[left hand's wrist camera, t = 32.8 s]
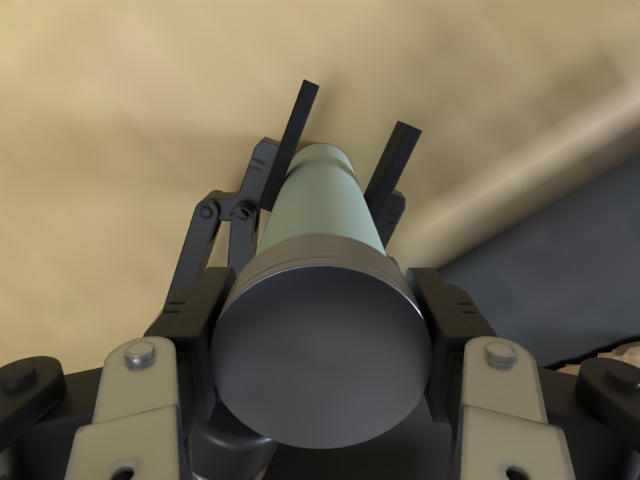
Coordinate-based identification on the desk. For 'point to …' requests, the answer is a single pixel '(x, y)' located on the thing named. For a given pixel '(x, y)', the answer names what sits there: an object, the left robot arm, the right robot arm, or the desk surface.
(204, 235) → the right robot arm
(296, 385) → the lid
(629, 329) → the desk surface
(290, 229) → the bottle
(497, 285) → the desk surface
